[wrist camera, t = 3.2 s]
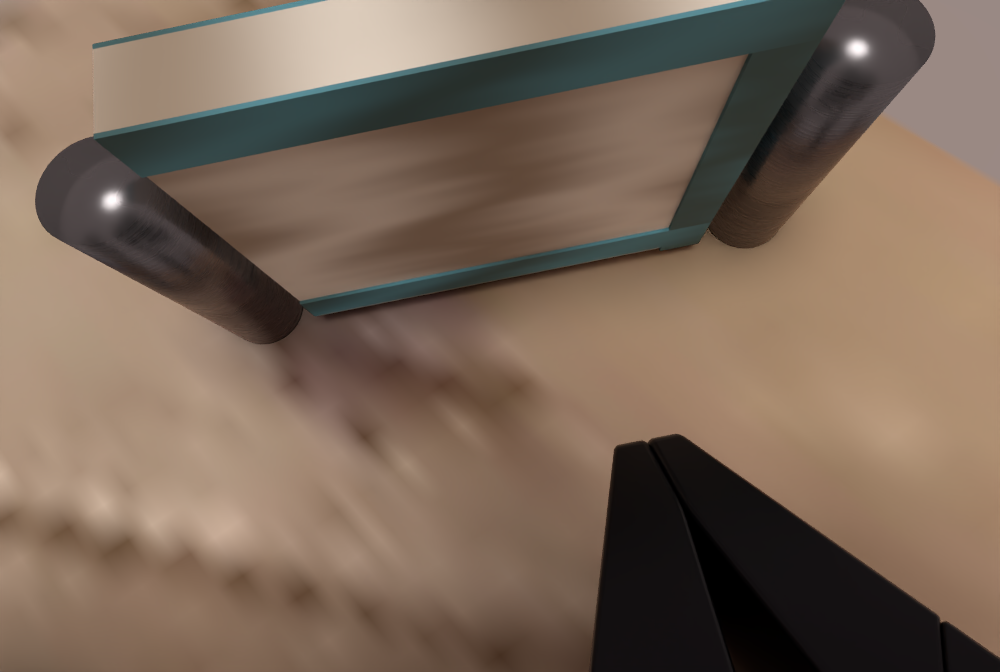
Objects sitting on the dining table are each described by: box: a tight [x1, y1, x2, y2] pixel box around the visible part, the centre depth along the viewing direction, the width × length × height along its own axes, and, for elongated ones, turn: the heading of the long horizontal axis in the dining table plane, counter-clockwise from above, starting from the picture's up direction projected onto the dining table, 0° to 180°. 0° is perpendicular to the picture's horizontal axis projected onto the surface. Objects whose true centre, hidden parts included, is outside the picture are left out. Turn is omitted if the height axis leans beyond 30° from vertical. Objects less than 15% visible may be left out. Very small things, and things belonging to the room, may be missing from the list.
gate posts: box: [35, 0, 935, 344], centre depth 16 cm, size 18×2×8 cm, turn 101°
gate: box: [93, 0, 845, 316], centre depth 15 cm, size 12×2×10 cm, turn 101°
